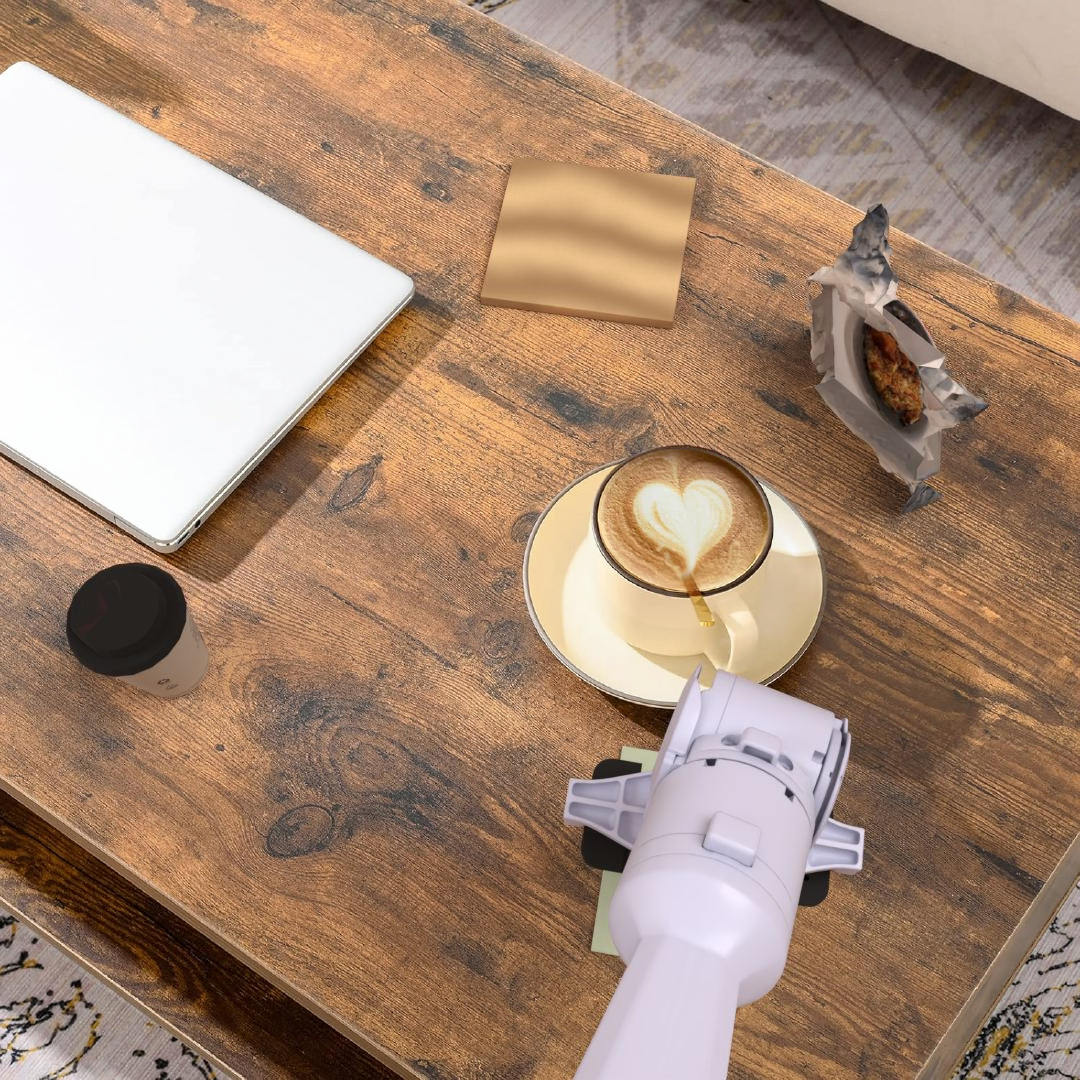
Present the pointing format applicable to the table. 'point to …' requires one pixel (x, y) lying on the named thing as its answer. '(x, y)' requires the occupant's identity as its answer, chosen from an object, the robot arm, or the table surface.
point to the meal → (883, 362)
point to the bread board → (590, 242)
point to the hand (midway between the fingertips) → (696, 851)
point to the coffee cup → (137, 630)
